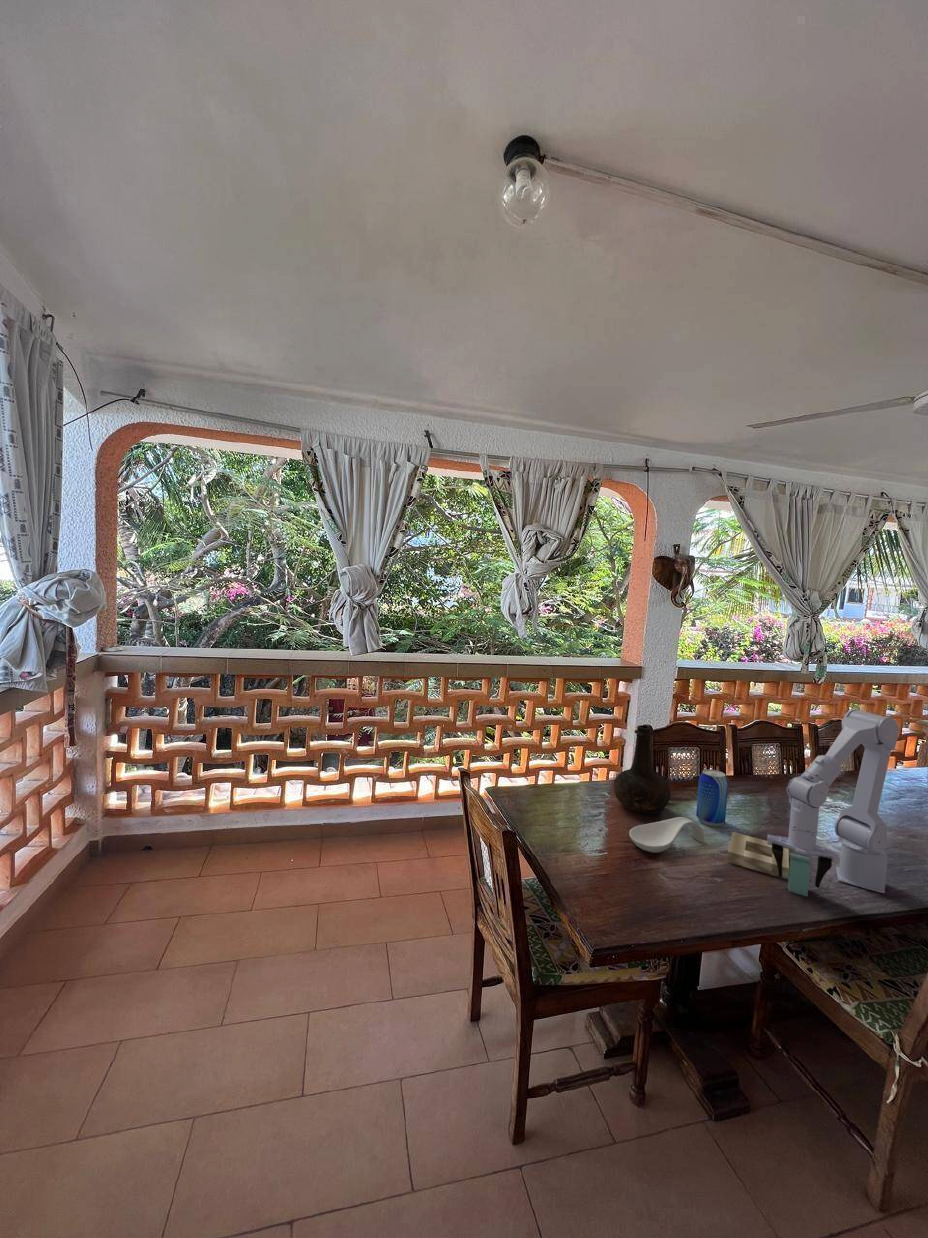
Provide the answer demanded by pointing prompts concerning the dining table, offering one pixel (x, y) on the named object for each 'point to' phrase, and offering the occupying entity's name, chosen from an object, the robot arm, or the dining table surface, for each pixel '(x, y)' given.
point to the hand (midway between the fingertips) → (798, 880)
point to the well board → (756, 855)
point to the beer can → (712, 798)
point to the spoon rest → (663, 834)
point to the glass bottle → (642, 780)
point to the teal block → (799, 874)
